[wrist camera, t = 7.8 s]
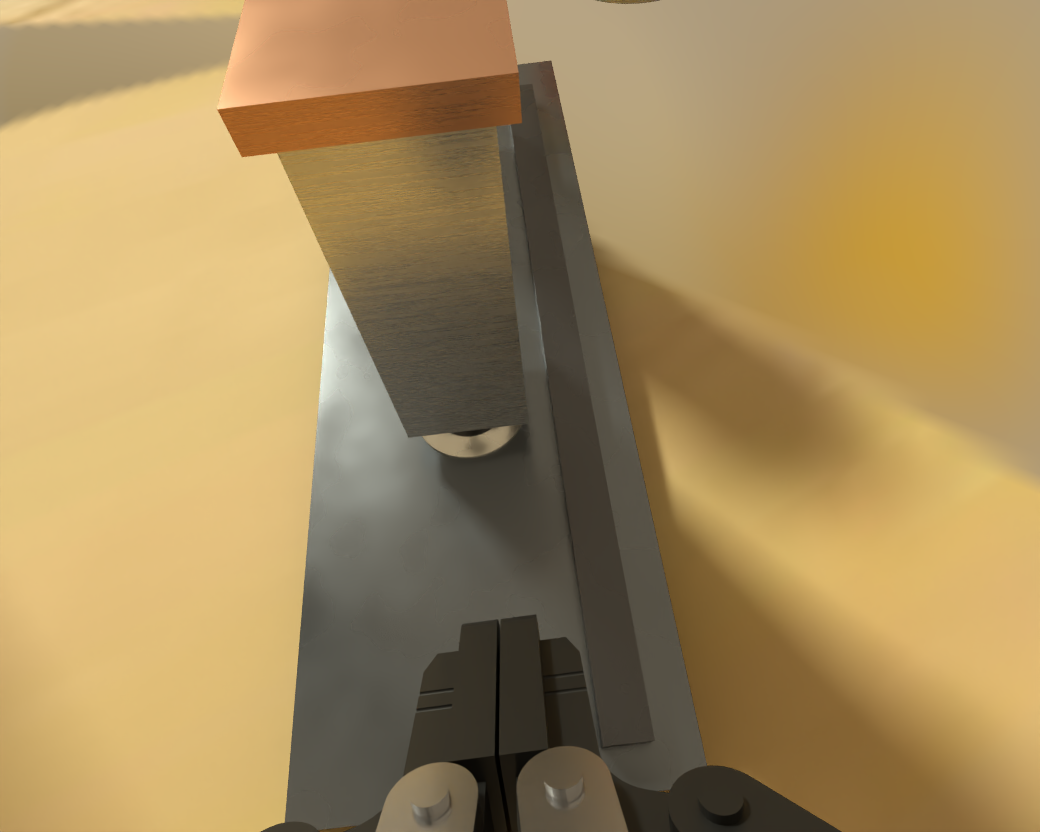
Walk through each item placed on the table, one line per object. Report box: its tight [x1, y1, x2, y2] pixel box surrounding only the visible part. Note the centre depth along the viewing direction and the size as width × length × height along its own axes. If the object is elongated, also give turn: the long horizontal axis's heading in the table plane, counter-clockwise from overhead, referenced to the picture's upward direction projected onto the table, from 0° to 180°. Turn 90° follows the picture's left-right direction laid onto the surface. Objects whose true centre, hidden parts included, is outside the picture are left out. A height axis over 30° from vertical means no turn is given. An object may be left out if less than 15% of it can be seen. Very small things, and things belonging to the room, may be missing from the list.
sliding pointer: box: [217, 0, 528, 438], centre depth 15 cm, size 4×4×11 cm
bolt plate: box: [285, 61, 707, 830], centre depth 18 cm, size 30×10×13 cm, turn 6°
